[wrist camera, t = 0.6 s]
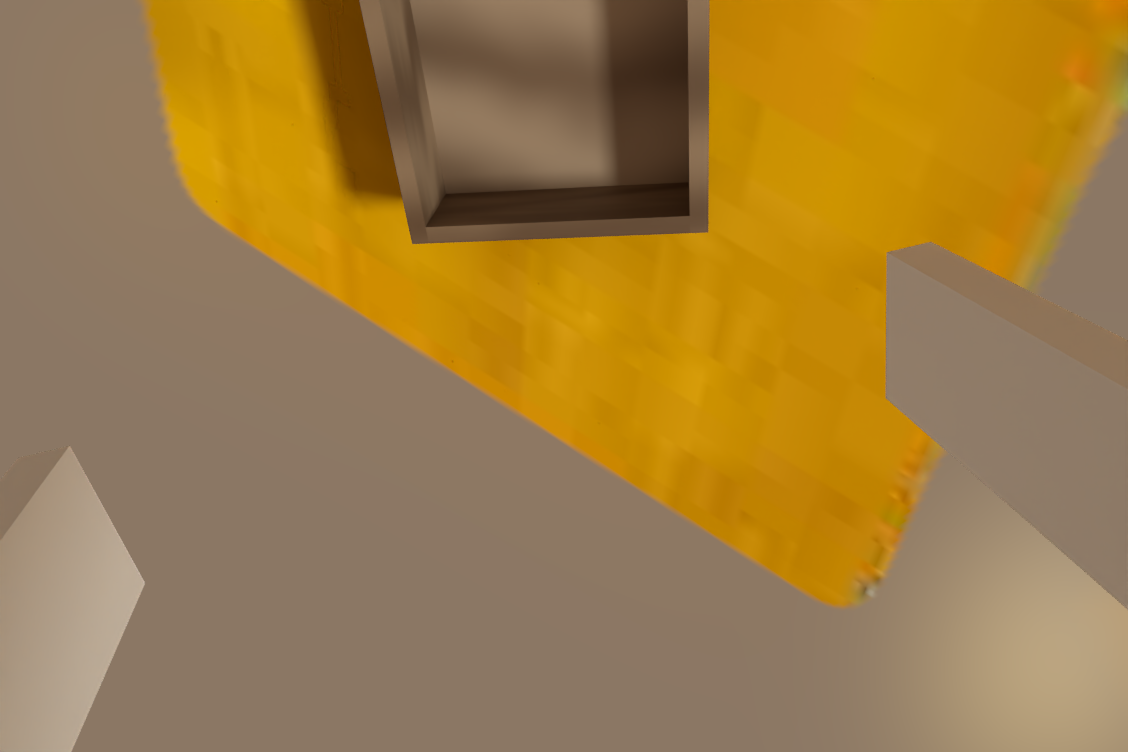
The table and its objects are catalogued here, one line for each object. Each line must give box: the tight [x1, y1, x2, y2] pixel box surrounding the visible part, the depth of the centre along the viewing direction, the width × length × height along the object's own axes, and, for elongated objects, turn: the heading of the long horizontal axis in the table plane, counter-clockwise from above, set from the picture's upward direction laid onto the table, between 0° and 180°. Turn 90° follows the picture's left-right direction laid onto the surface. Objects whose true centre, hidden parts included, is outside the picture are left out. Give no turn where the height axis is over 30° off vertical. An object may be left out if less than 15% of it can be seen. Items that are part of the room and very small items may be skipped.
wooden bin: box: [359, 0, 709, 244], centre depth 35 cm, size 14×14×5 cm
